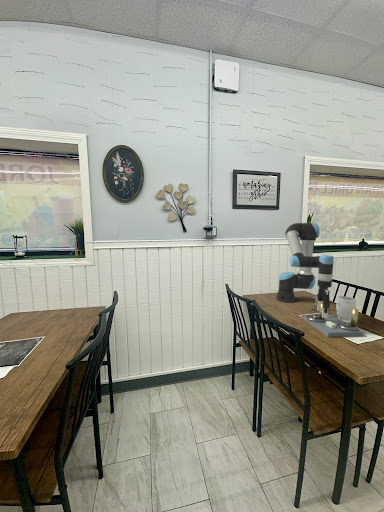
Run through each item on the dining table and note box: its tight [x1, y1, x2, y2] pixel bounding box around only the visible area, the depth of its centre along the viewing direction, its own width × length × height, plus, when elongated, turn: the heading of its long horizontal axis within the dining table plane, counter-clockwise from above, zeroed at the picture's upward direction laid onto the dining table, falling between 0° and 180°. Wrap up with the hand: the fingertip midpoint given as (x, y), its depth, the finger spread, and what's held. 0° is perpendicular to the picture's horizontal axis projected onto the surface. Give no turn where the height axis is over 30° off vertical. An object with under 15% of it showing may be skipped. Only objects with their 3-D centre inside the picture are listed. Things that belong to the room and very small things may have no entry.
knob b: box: [338, 308, 360, 331], centre depth 127 cm, size 10×10×11 cm
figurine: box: [308, 293, 320, 313], centre depth 161 cm, size 11×7×12 cm, turn 79°
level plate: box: [303, 314, 363, 338], centre depth 133 cm, size 24×20×5 cm
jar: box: [335, 295, 357, 323], centre depth 142 cm, size 11×10×15 cm
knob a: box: [306, 303, 325, 322], centre depth 138 cm, size 10×10×11 cm
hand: (322, 314), depth 137 cm, fingers open, 10 cm apart
